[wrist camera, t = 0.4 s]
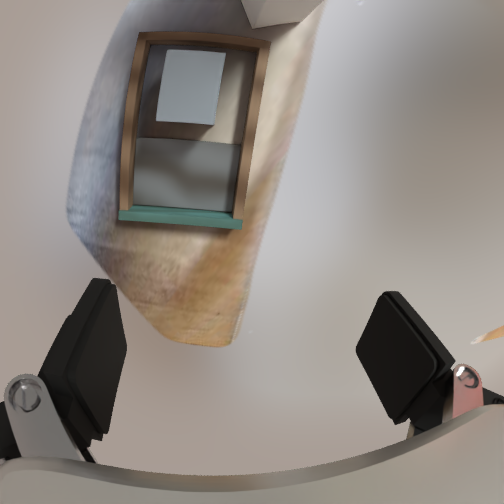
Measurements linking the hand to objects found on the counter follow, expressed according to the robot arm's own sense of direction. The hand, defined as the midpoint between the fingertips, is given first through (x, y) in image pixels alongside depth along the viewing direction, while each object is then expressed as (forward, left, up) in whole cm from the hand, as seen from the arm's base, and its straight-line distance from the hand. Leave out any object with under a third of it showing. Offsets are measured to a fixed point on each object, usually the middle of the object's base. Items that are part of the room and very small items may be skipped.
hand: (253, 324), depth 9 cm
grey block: (-10, -5, -30) cm, 32 cm away
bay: (-6, -5, -30) cm, 31 cm away
